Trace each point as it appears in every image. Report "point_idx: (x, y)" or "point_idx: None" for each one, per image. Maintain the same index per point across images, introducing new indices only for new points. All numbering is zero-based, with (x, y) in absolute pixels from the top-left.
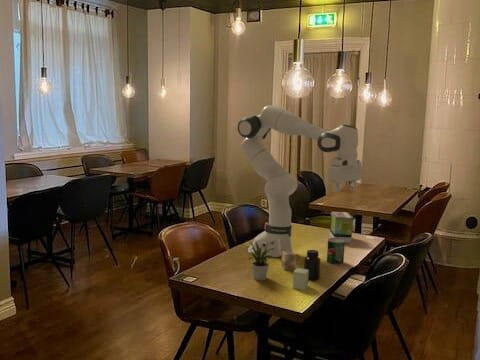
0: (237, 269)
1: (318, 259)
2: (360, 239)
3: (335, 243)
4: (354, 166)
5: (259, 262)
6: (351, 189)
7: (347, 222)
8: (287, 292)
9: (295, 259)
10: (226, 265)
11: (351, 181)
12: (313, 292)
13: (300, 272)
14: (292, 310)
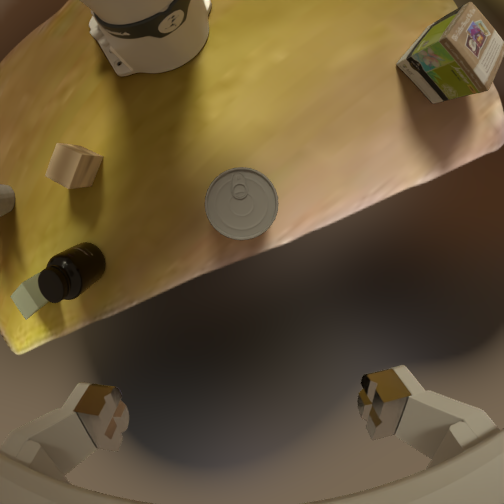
0: (2, 129)
1: (68, 299)
2: (473, 103)
3: (212, 224)
4: None
5: None
6: (361, 399)
7: (464, 78)
8: None
9: (76, 187)
10: (3, 97)
11: (450, 439)
12: (54, 321)
13: (19, 308)
14: (7, 344)
